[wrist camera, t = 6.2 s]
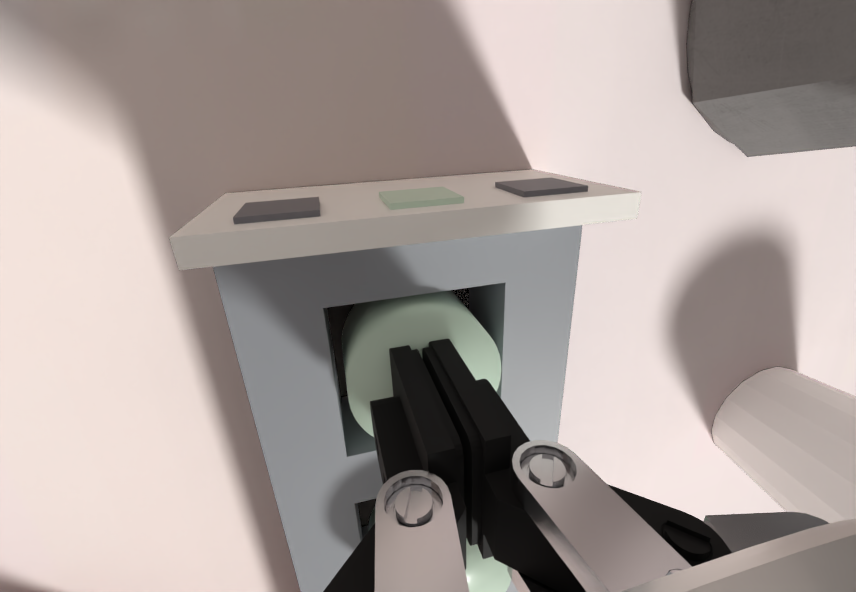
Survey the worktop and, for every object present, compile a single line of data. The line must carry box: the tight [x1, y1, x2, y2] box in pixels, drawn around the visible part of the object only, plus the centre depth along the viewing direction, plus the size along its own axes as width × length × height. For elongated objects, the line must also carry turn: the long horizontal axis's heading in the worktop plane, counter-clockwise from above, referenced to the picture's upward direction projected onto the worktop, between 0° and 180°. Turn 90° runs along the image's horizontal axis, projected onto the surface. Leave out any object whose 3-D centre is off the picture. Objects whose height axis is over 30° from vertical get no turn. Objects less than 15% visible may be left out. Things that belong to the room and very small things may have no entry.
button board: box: [169, 169, 642, 592], centre depth 15 cm, size 24×10×5 cm, turn 2°
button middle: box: [368, 507, 511, 592], centre depth 14 cm, size 4×4×3 cm
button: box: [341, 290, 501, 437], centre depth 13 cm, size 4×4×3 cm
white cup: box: [711, 367, 856, 523], centre depth 19 cm, size 7×7×7 cm
